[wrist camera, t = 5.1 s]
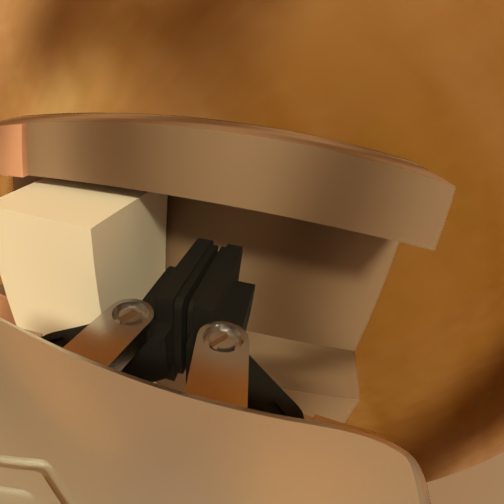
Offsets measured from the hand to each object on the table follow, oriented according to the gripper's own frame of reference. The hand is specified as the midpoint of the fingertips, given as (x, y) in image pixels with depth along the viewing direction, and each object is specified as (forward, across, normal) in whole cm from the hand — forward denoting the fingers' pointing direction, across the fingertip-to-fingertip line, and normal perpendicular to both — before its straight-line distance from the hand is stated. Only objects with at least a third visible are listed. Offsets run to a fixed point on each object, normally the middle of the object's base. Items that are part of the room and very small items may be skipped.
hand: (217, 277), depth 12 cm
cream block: (+1, +5, 0) cm, 5 cm away
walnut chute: (+2, +3, 0) cm, 4 cm away
